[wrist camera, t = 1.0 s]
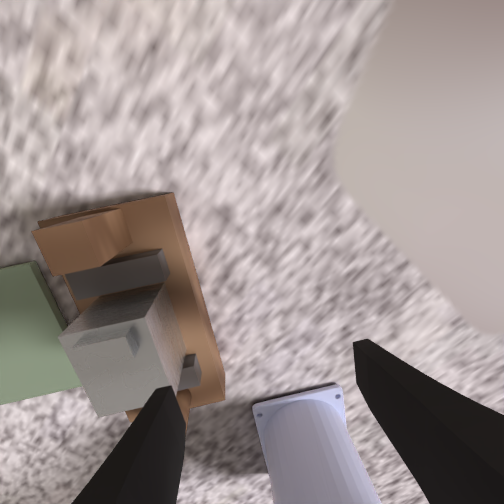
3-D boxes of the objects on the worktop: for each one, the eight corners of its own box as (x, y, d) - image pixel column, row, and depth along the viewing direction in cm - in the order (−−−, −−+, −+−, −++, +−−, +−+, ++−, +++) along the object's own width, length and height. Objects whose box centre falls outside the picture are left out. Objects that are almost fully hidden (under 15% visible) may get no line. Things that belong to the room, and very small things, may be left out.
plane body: (225, 374, 21) (224, 458, 15) (141, 393, 21) (105, 487, 15) (173, 192, 16) (141, 203, 10) (65, 214, 16) (-36, 239, 10)
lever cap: (186, 349, 17) (173, 409, 13) (127, 362, 17) (92, 428, 12) (164, 282, 15) (140, 324, 11) (99, 296, 15) (48, 345, 11)
